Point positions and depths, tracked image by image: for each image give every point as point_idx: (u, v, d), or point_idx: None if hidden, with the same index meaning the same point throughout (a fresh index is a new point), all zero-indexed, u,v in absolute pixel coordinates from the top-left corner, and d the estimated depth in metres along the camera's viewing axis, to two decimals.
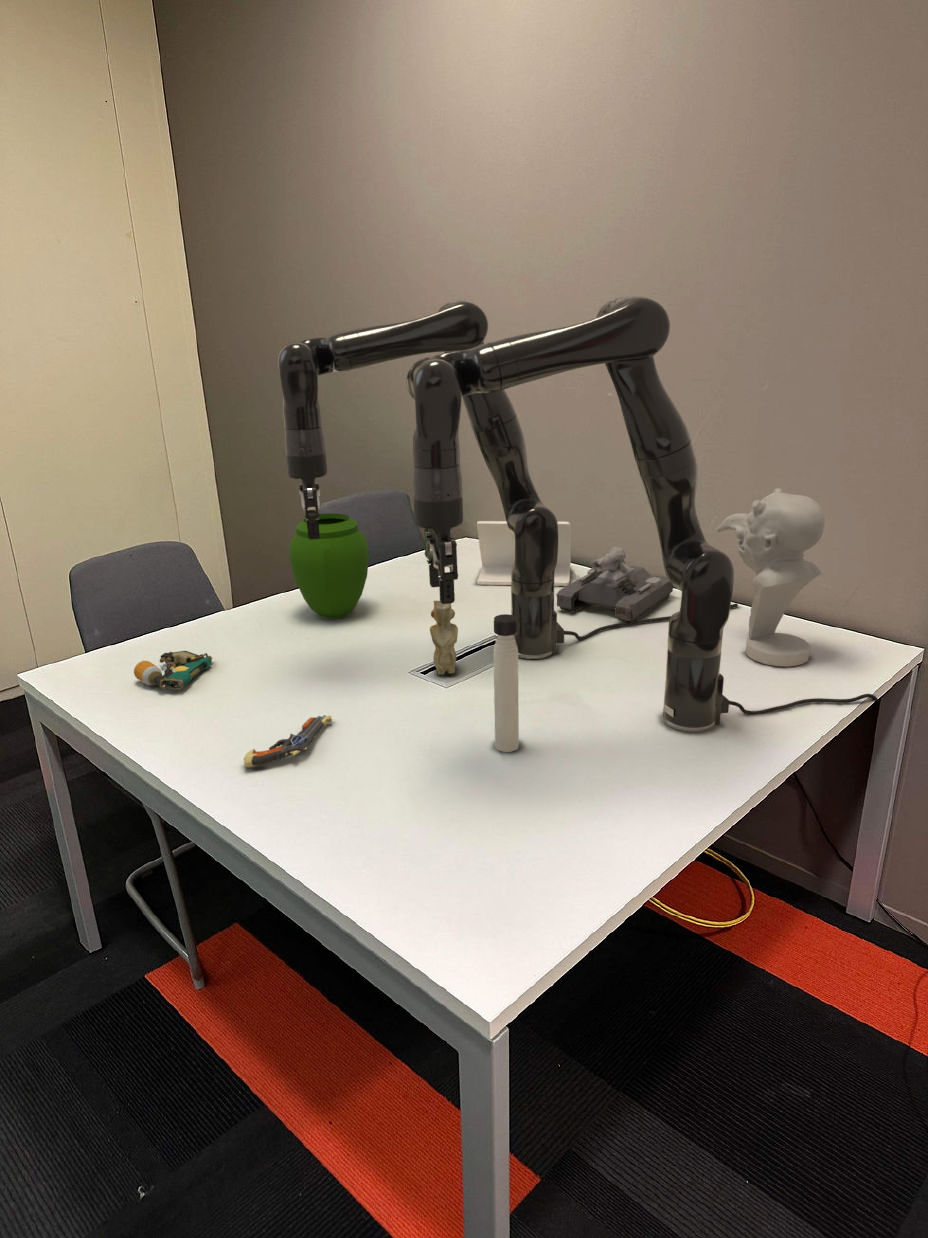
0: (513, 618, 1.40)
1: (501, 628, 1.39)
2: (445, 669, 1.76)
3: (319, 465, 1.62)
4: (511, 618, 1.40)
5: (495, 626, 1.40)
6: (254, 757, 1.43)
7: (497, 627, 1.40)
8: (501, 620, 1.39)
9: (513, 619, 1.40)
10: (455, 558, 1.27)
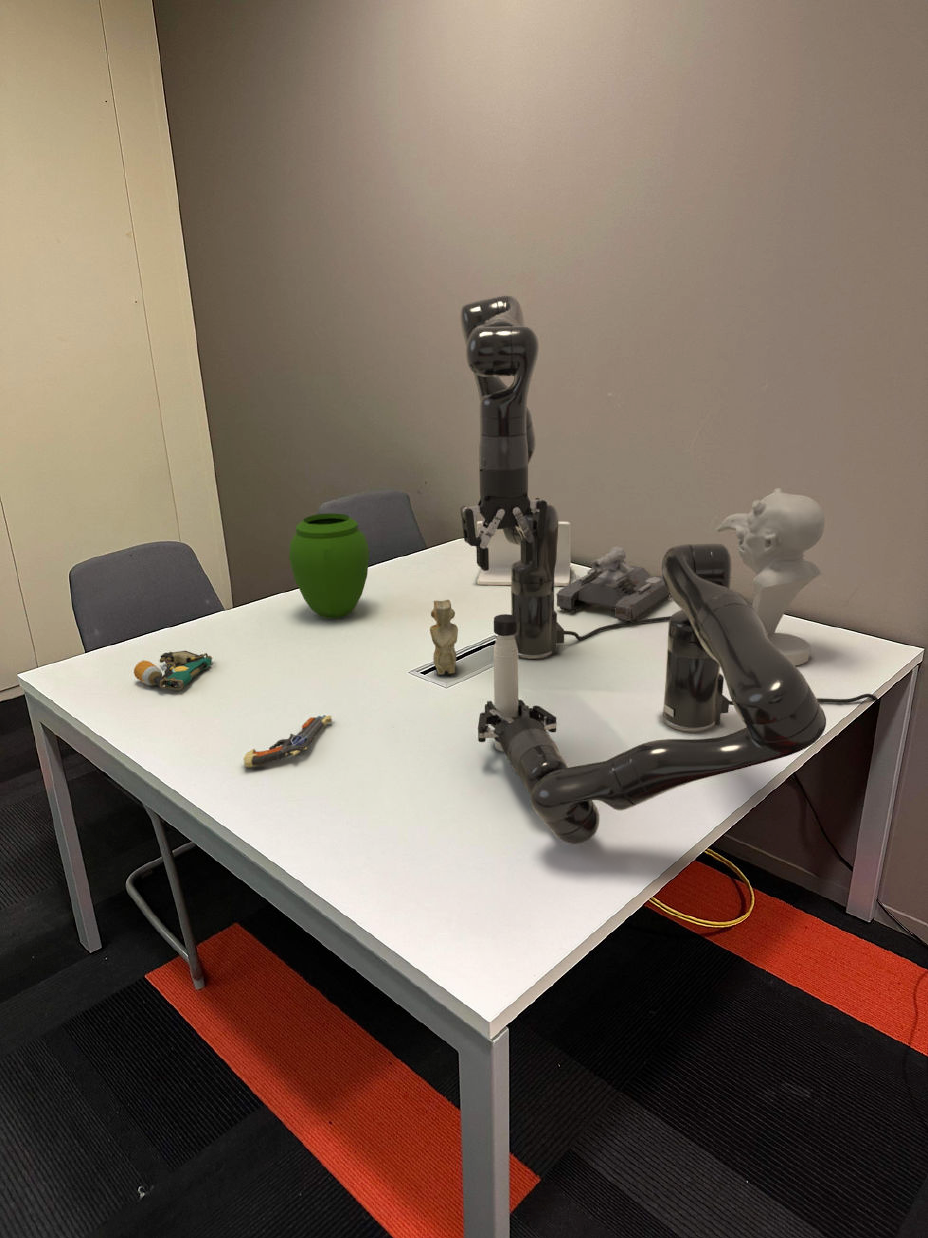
0: (513, 618, 1.40)
1: (501, 628, 1.39)
2: (445, 669, 1.76)
3: None
4: (511, 618, 1.40)
5: (495, 626, 1.40)
6: (254, 757, 1.43)
7: (497, 627, 1.40)
8: (501, 620, 1.40)
9: (513, 619, 1.40)
10: None
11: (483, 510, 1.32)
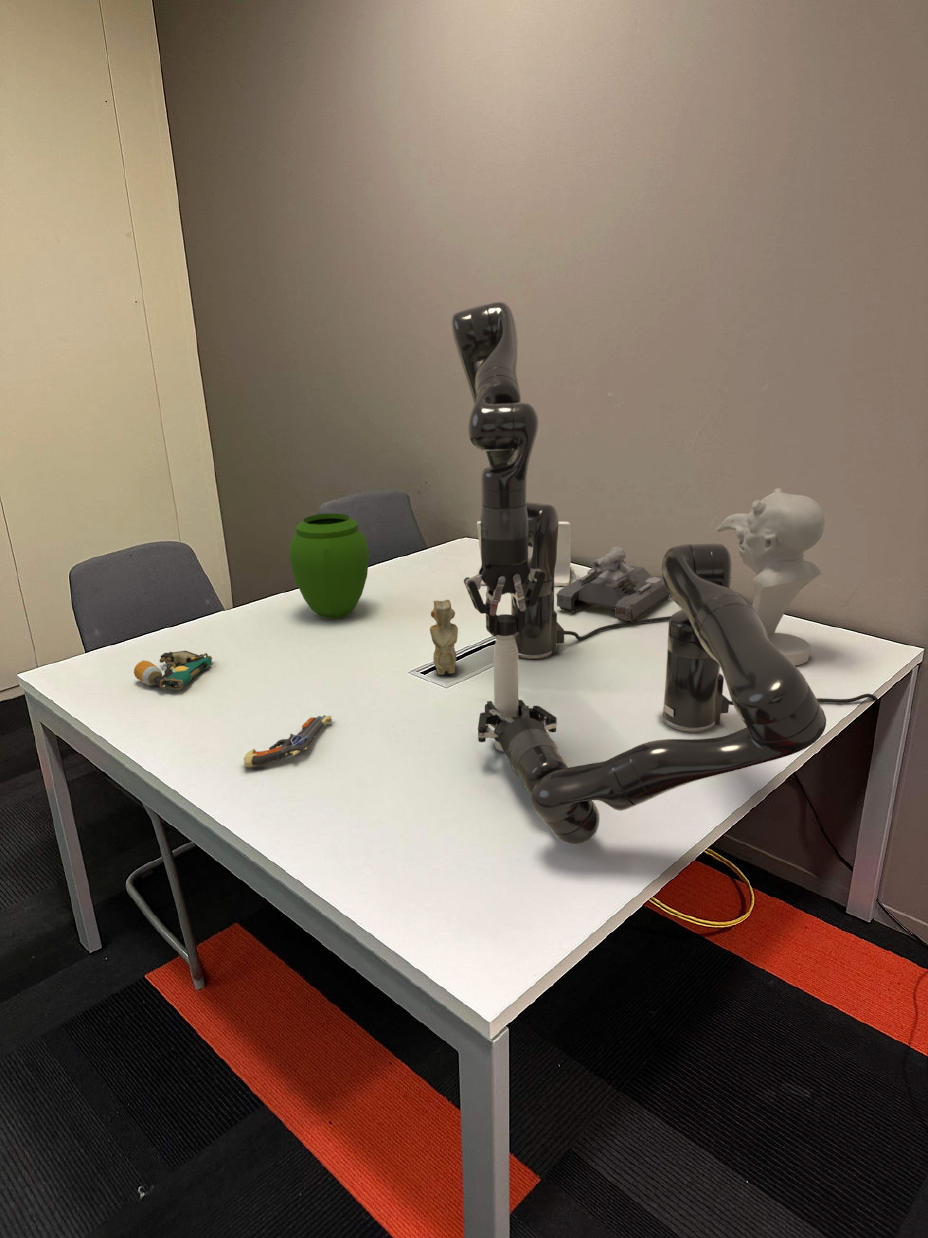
0: (513, 618, 1.40)
1: (501, 628, 1.39)
2: (445, 669, 1.76)
3: None
4: (511, 618, 1.40)
5: None
6: (254, 757, 1.43)
7: None
8: (501, 620, 1.39)
9: (513, 619, 1.40)
10: None
11: (485, 578, 1.36)
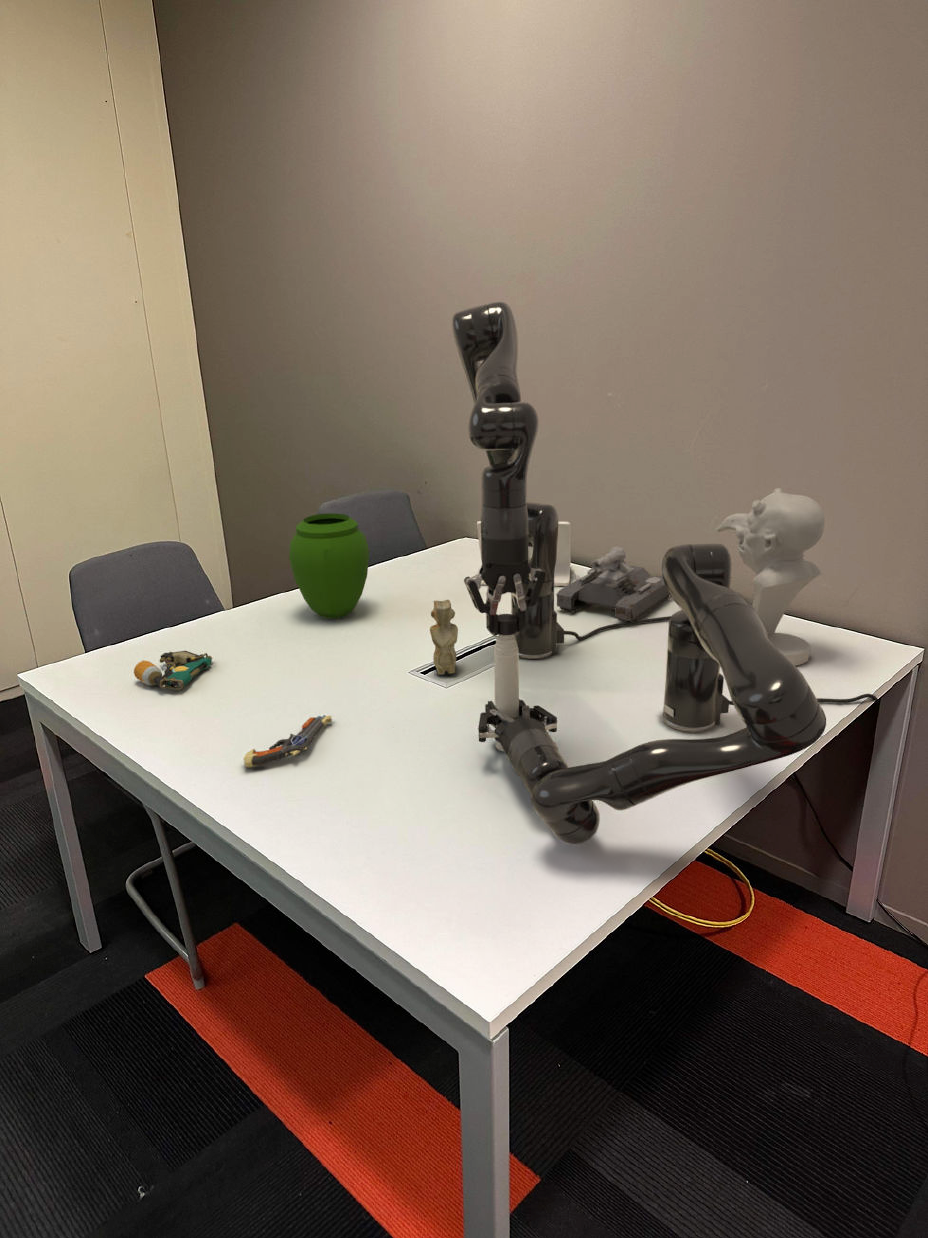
0: (506, 614, 1.42)
1: (516, 625, 1.40)
2: (445, 669, 1.76)
3: None
4: (506, 615, 1.41)
5: (511, 627, 1.39)
6: (254, 757, 1.43)
7: (514, 626, 1.39)
8: (512, 619, 1.40)
9: (509, 614, 1.42)
10: None
11: (485, 578, 1.36)
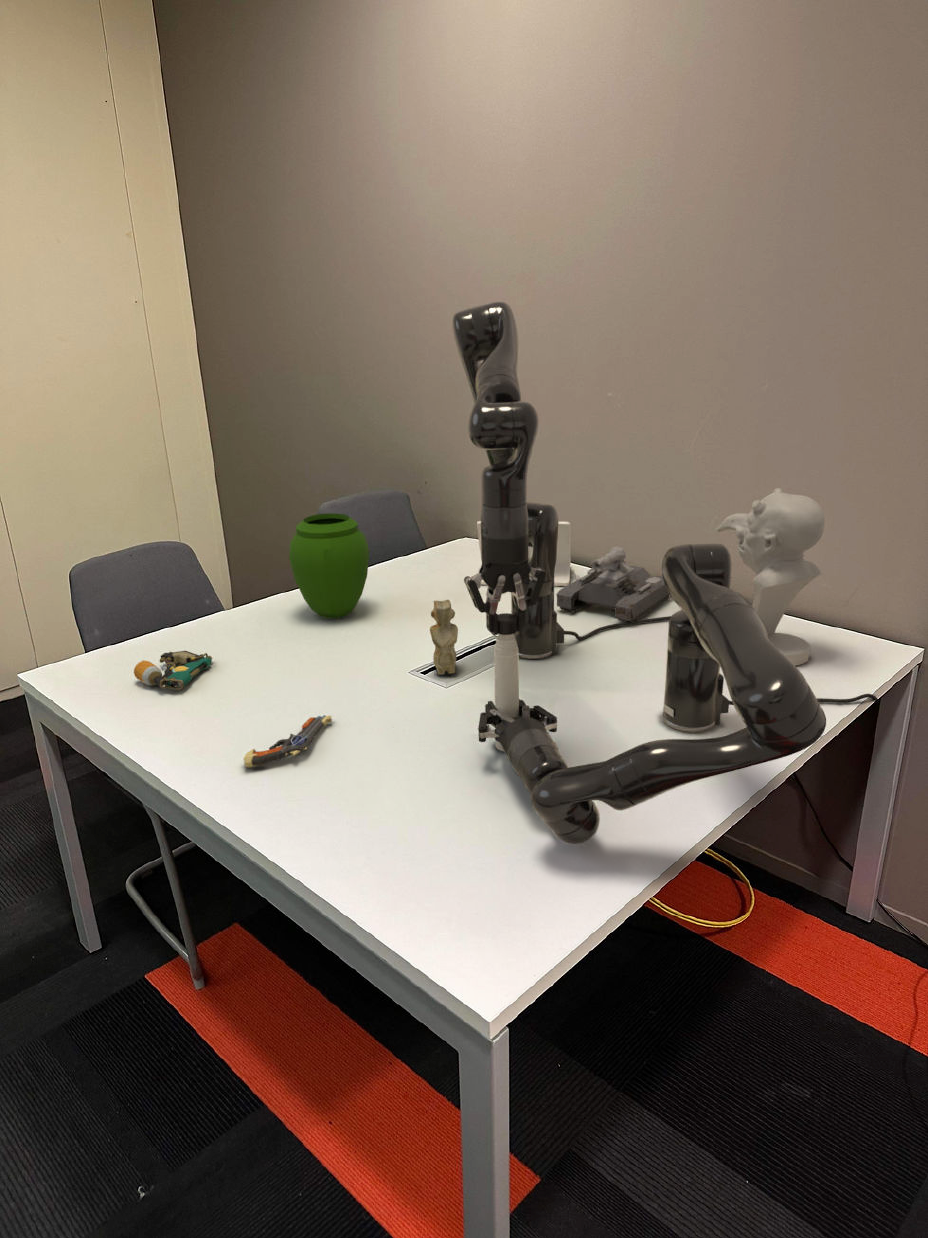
0: None
1: None
2: (445, 669, 1.76)
3: None
4: (499, 616, 1.41)
5: None
6: (254, 757, 1.43)
7: None
8: (509, 615, 1.41)
9: None
10: None
11: (485, 577, 1.36)
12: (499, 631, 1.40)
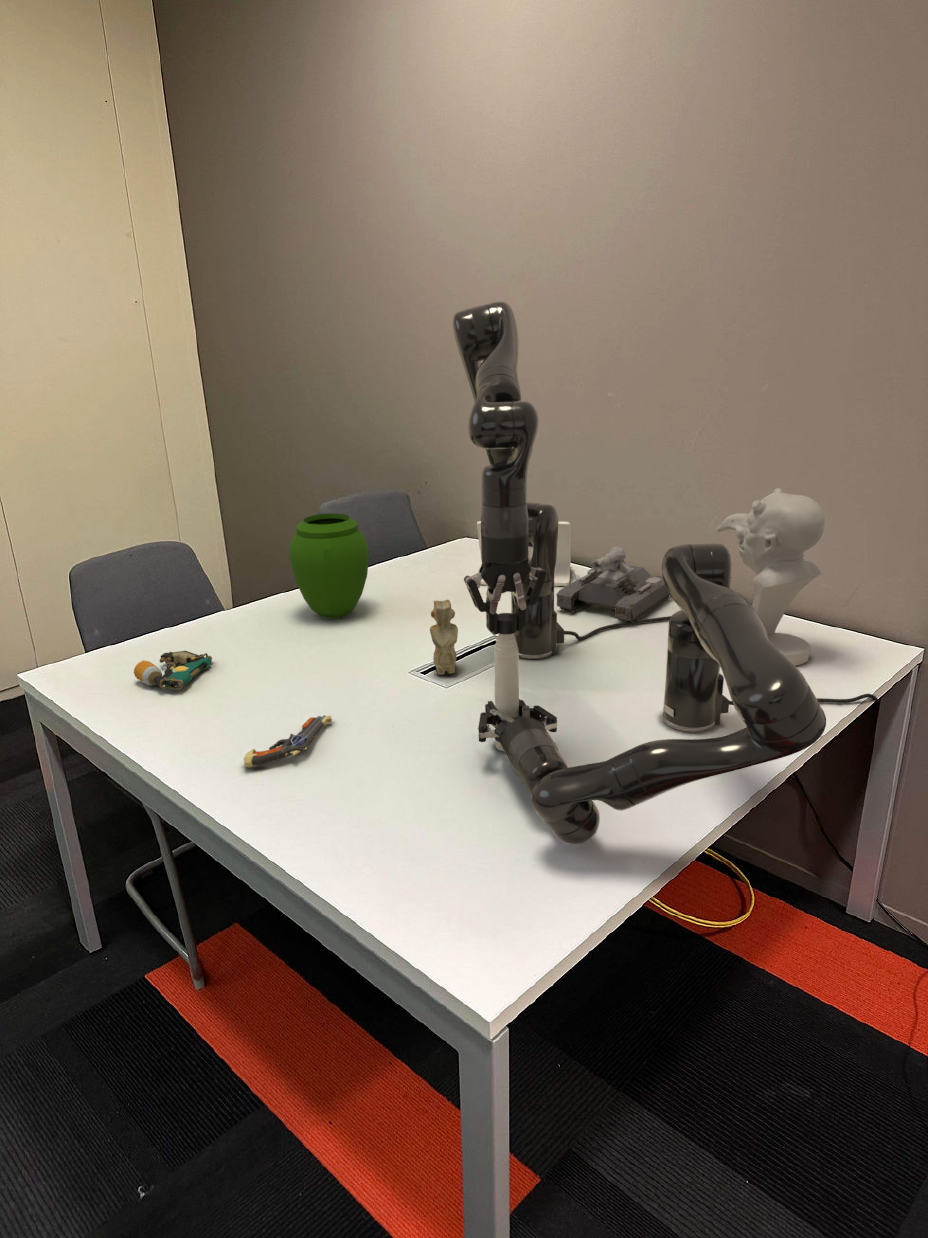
0: (504, 619, 1.39)
1: None
2: (445, 669, 1.76)
3: None
4: (504, 618, 1.39)
5: None
6: (254, 757, 1.43)
7: None
8: (499, 615, 1.41)
9: (502, 619, 1.39)
10: None
11: (485, 577, 1.36)
12: (515, 629, 1.40)
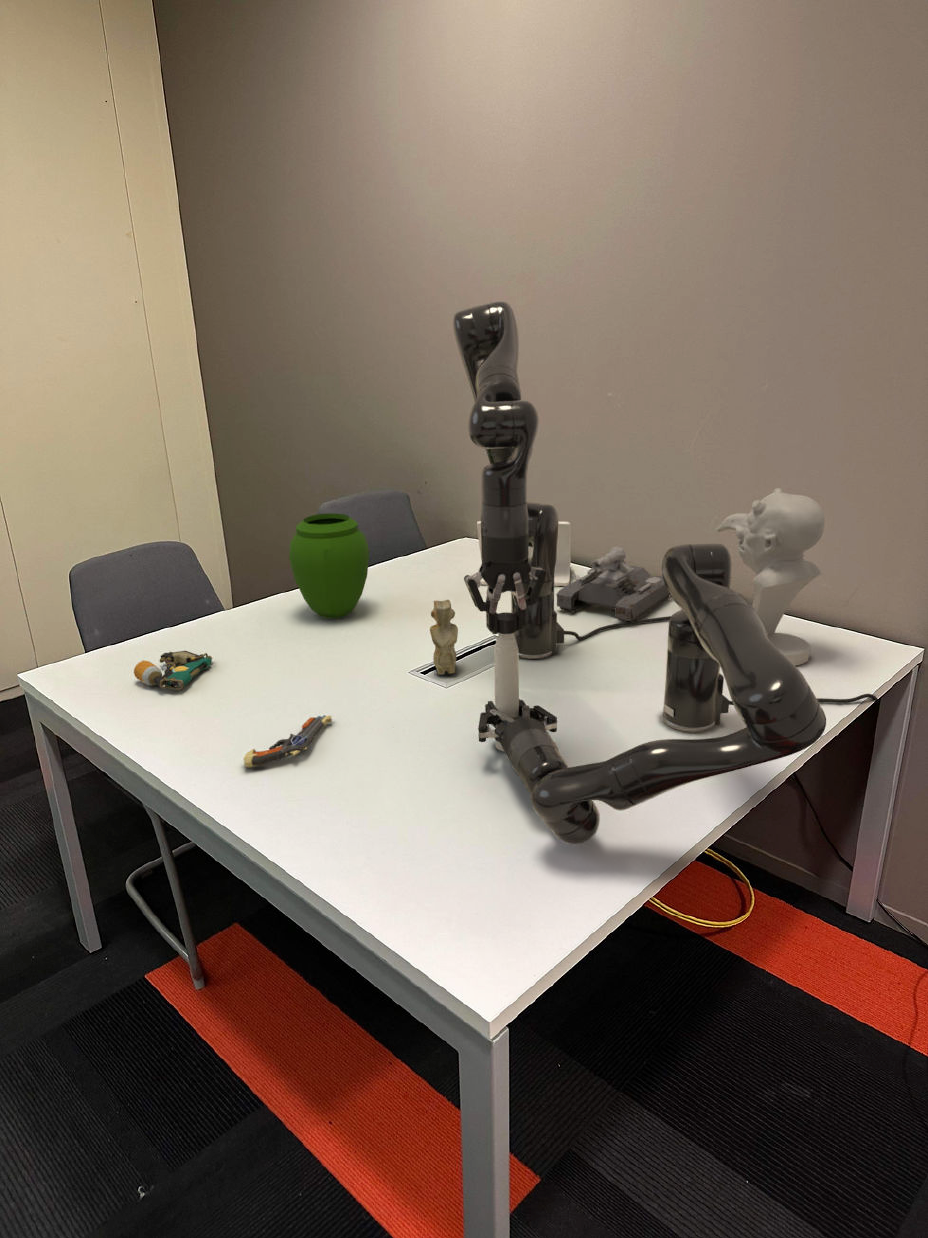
0: (513, 616, 1.40)
1: (502, 627, 1.39)
2: (445, 669, 1.76)
3: None
4: (511, 616, 1.40)
5: None
6: (254, 757, 1.43)
7: None
8: (501, 618, 1.39)
9: (513, 617, 1.40)
10: None
11: (485, 576, 1.36)
12: None
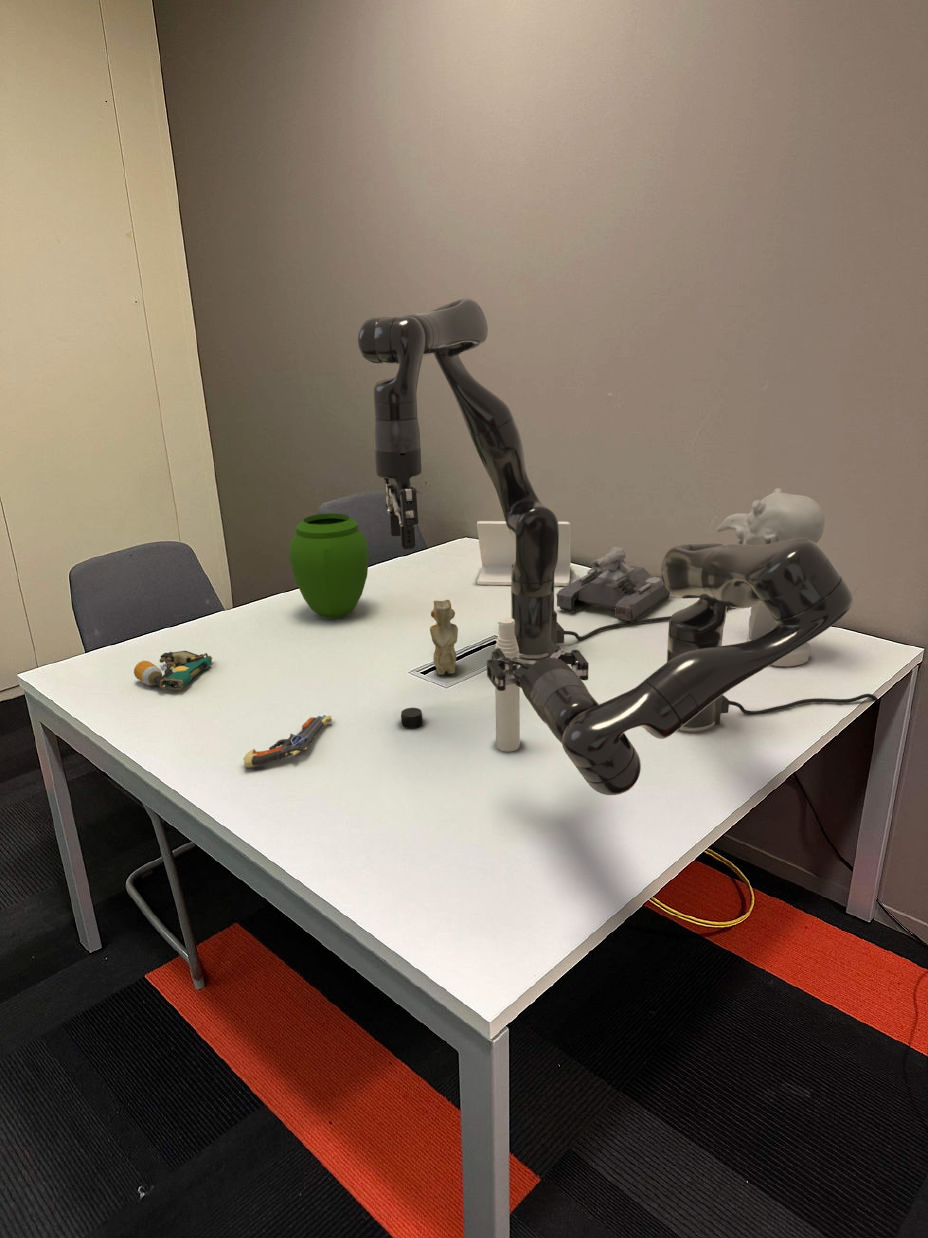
0: (404, 711, 1.57)
1: None
2: (445, 669, 1.76)
3: None
4: (406, 711, 1.57)
5: None
6: (254, 757, 1.43)
7: None
8: (415, 709, 1.58)
9: (404, 710, 1.57)
10: (493, 682, 1.23)
11: None
12: (405, 725, 1.56)
